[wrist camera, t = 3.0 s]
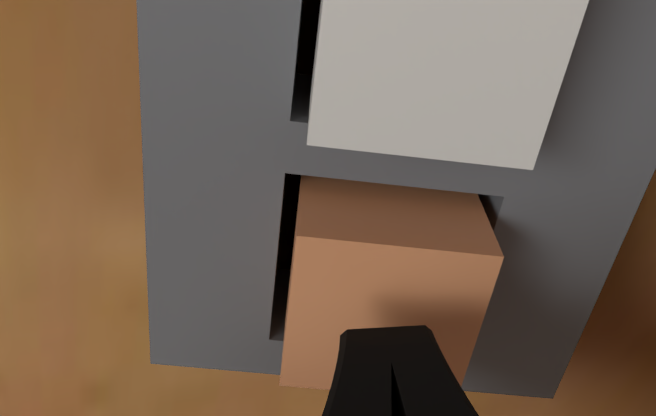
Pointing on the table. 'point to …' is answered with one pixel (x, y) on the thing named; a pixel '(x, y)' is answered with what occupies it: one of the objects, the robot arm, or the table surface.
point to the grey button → (440, 77)
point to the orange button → (384, 271)
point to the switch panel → (299, 158)
